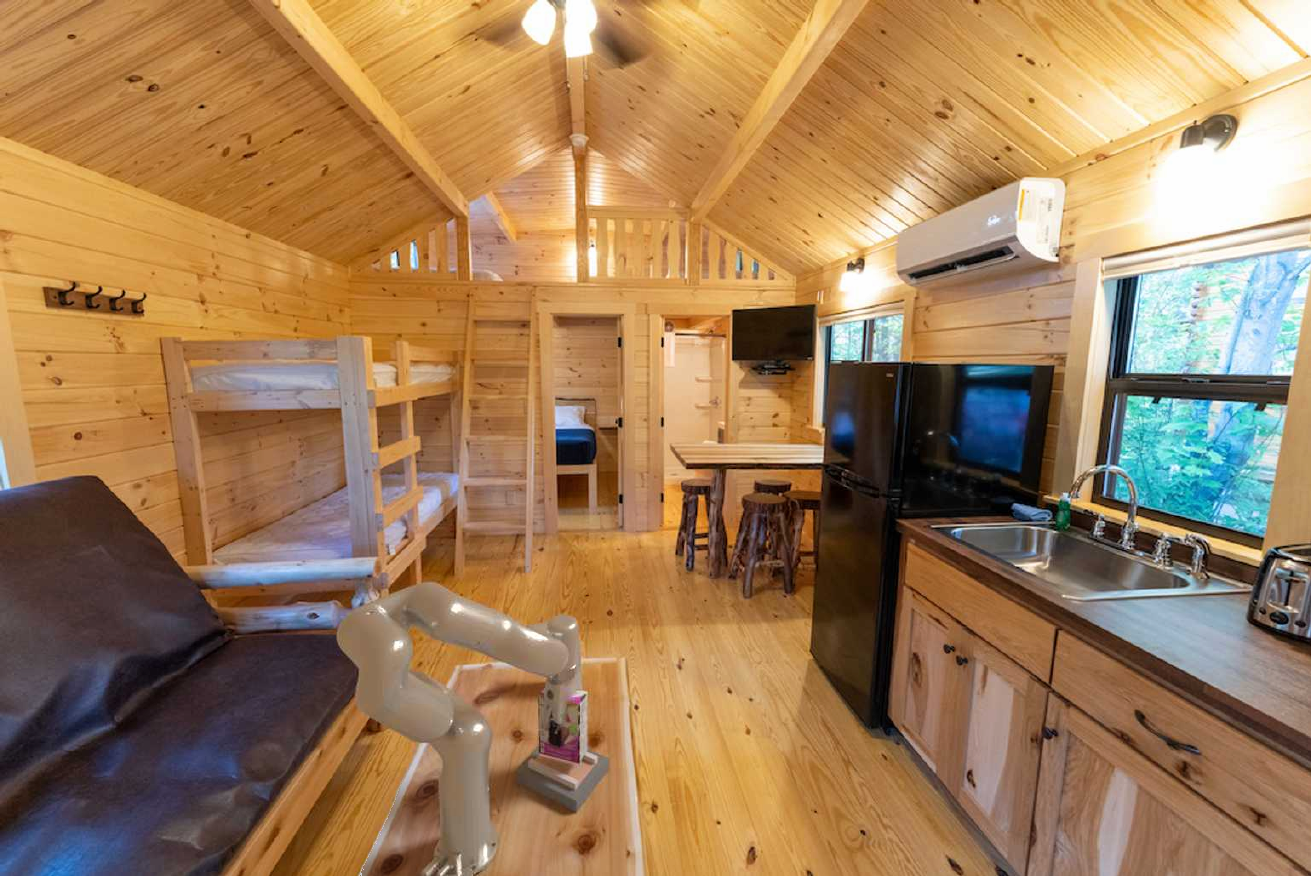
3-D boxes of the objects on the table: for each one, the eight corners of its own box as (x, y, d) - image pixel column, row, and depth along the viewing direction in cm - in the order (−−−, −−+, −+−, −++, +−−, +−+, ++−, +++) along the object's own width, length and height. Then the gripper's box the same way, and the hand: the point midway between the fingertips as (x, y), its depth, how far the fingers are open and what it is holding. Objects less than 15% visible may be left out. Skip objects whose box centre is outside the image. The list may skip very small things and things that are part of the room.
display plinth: (576, 812, 115) (576, 795, 114) (515, 781, 123) (514, 765, 122) (609, 768, 127) (609, 752, 126) (551, 743, 135) (551, 728, 134)
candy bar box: (537, 754, 123) (536, 693, 120) (547, 740, 128) (546, 681, 125) (580, 765, 120) (579, 703, 117) (588, 750, 125) (588, 690, 122)
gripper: (552, 694, 111) (553, 766, 114) (595, 654, 126) (595, 719, 129) (526, 683, 114) (527, 754, 117) (571, 645, 129) (571, 709, 132)
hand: (563, 735), depth 123 cm, fingers closed on candy bar box, 5 cm apart
